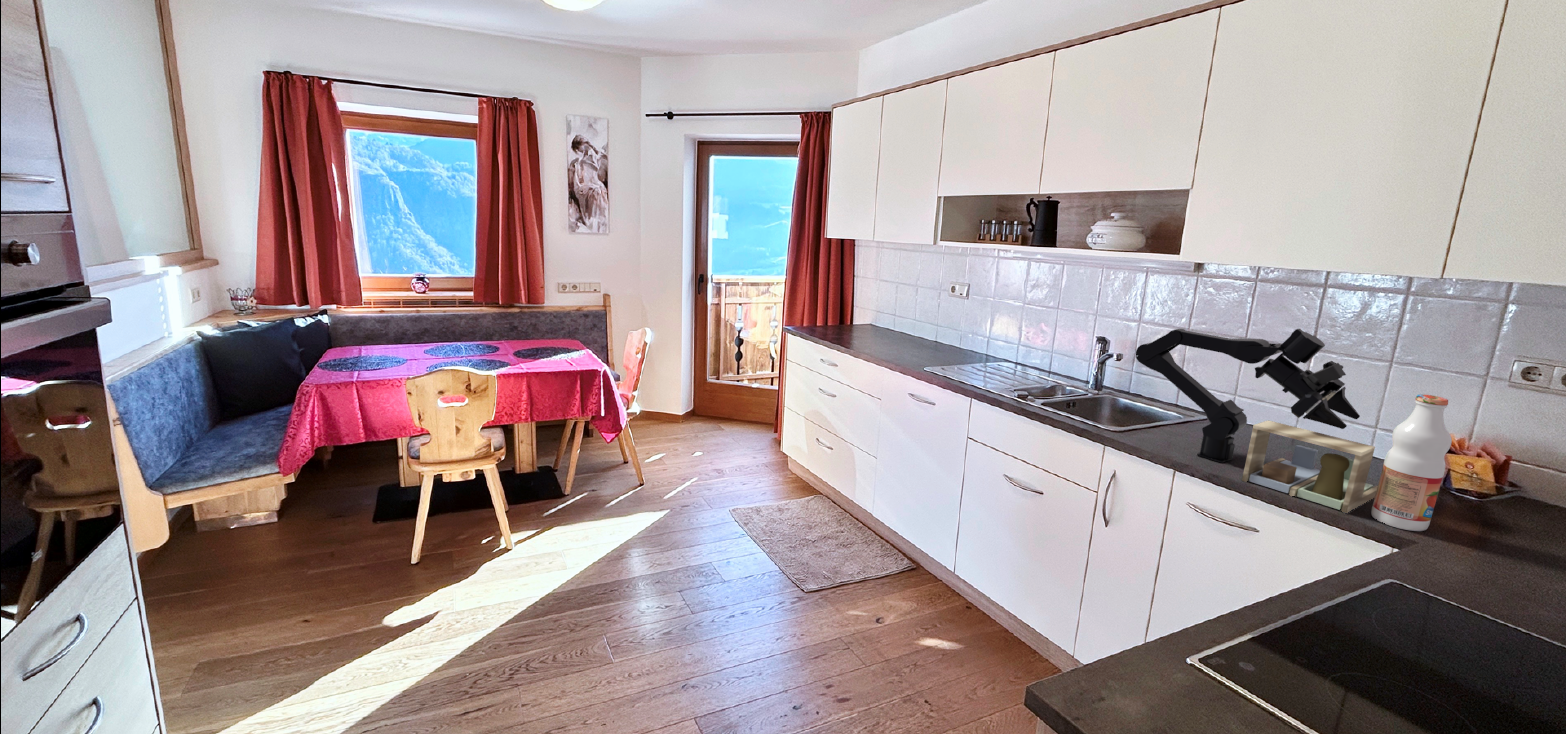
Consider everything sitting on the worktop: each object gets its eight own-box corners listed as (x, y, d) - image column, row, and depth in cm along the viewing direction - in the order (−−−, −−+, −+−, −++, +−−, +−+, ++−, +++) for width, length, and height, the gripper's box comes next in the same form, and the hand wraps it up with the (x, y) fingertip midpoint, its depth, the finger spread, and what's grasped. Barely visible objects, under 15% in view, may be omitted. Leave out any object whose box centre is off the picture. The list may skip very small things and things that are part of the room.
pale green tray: (1296, 496, 158) (1303, 469, 157) (1330, 480, 169) (1336, 455, 167) (1339, 509, 151) (1346, 482, 150) (1371, 492, 162) (1378, 466, 161)
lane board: (1241, 480, 167) (1253, 424, 164) (1279, 465, 179) (1291, 412, 176) (1346, 514, 150) (1362, 452, 147) (1380, 494, 162) (1395, 437, 159)
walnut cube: (1259, 483, 166) (1264, 464, 165) (1268, 479, 169) (1273, 460, 168) (1283, 490, 162) (1287, 471, 161) (1292, 486, 165) (1296, 467, 164)
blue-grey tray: (1249, 481, 166) (1254, 455, 165) (1283, 466, 177) (1289, 442, 175) (1287, 493, 159) (1293, 466, 158) (1321, 477, 170) (1327, 452, 169)
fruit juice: (1363, 509, 153) (1394, 388, 147) (1416, 518, 150) (1450, 395, 143) (1379, 526, 145) (1413, 399, 138) (1436, 536, 141) (1474, 406, 135)
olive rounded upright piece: (1311, 501, 156) (1322, 456, 154) (1306, 492, 161) (1317, 448, 159) (1345, 508, 153) (1356, 462, 151) (1338, 498, 159) (1349, 453, 156)
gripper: (1301, 360, 157) (1367, 408, 149) (1330, 346, 167) (1393, 390, 159) (1266, 394, 164) (1327, 441, 156) (1295, 378, 175) (1354, 421, 167)
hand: (1351, 422), depth 159 cm, fingers open, 9 cm apart
